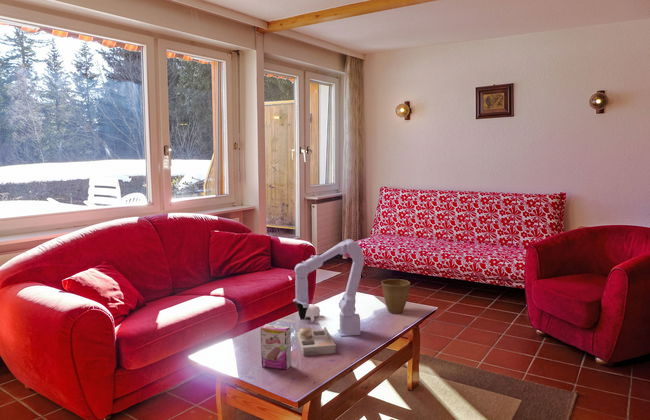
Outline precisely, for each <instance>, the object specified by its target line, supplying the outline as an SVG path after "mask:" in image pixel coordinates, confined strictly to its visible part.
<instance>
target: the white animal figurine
mask: <svg viewBox="0 0 650 420" xmlns="http://www.w3.org/2000/svg"><path fill="white" fill-rule="evenodd" d="M308 304H309V303H308ZM320 312H321V309H320V307H319V306H318V305H315V304H313V303H312V304H311V303H310V304H309V307H308V308H307V311H306V316H305V318H310V321H311V322H314V321H315V317H319V316H320ZM298 320H301V319H300V317H299V316H298Z"/></svg>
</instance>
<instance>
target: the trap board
mask: <svg viewBox="0 0 650 420" xmlns="http://www.w3.org/2000/svg"><path fill="white" fill-rule="evenodd" d="M295 336H296V339H297V342H298V345H299V348H300V350H301V352H302V356H303V357H307V356H318V355H327V354H329V355H330V354H336V353H337V344H336V343H335V341H334V339H333V338H332V336H331V334H330V332H329V331H328V329H327V327H325V326H324V327H323V328H322V329H314V330H313V329H312V338H311V339H301V338H300V330H298V331H296V332H295Z"/></svg>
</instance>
